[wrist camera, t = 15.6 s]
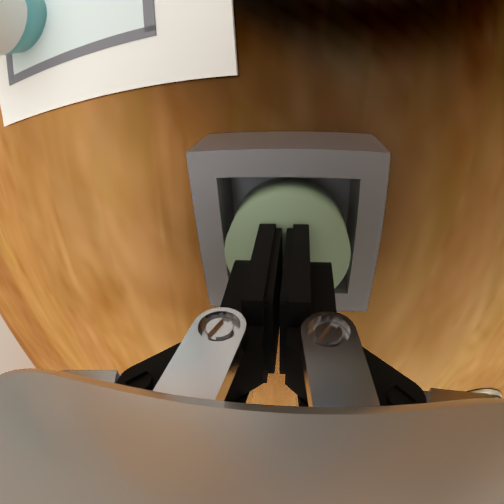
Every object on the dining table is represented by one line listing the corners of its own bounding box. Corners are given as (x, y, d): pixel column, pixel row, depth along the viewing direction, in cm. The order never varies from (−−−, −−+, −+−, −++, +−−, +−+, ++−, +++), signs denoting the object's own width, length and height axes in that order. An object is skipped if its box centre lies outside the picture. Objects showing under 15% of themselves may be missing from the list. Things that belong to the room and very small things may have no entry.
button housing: (372, 134, 12) (390, 153, 10) (358, 271, 16) (366, 311, 14) (208, 133, 13) (185, 152, 11) (223, 267, 17) (210, 306, 15)
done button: (348, 178, 11) (356, 199, 10) (339, 275, 14) (343, 306, 12) (230, 177, 12) (218, 198, 10) (239, 272, 14) (230, 302, 13)
